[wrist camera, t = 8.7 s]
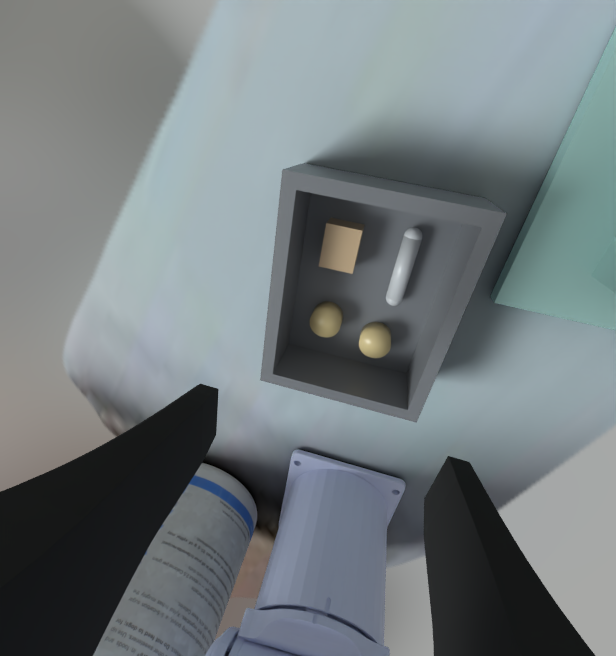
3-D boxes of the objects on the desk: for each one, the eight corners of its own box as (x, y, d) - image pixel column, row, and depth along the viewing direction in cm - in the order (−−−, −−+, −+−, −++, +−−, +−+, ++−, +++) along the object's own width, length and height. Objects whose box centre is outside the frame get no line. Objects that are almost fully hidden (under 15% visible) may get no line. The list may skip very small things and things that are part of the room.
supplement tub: (183, 436, 27) (-3, 698, 14) (282, 501, 28) (190, 796, 16) (142, 489, 32) (-23, 719, 19) (228, 542, 33) (125, 792, 20)
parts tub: (413, 379, 20) (416, 422, 17) (279, 345, 21) (260, 380, 18) (484, 197, 15) (506, 213, 12) (304, 162, 16) (282, 169, 13)
